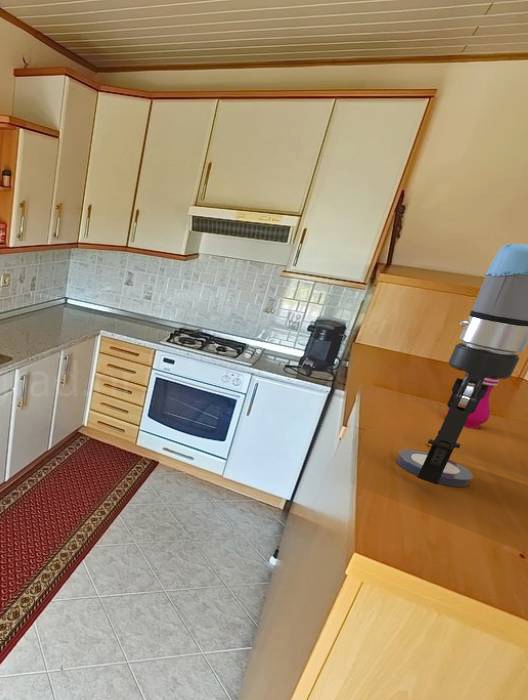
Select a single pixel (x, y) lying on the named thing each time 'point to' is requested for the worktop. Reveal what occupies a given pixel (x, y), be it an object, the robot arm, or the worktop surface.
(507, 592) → the worktop surface
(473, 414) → the pepper mill
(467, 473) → the plate
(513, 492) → the worktop surface
